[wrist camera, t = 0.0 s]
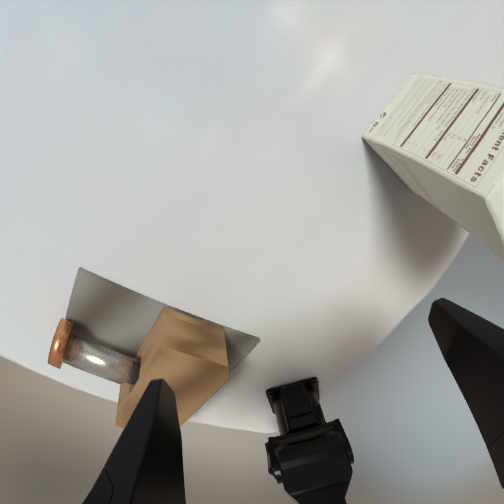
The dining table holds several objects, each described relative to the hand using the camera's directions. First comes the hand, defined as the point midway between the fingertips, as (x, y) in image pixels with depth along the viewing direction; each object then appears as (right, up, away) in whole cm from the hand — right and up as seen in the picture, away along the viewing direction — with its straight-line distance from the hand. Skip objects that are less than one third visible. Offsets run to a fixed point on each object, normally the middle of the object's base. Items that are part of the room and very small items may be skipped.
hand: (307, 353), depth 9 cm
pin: (-15, -6, +18) cm, 24 cm away
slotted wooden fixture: (-12, -7, +20) cm, 24 cm away
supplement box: (+11, +13, +12) cm, 21 cm away
